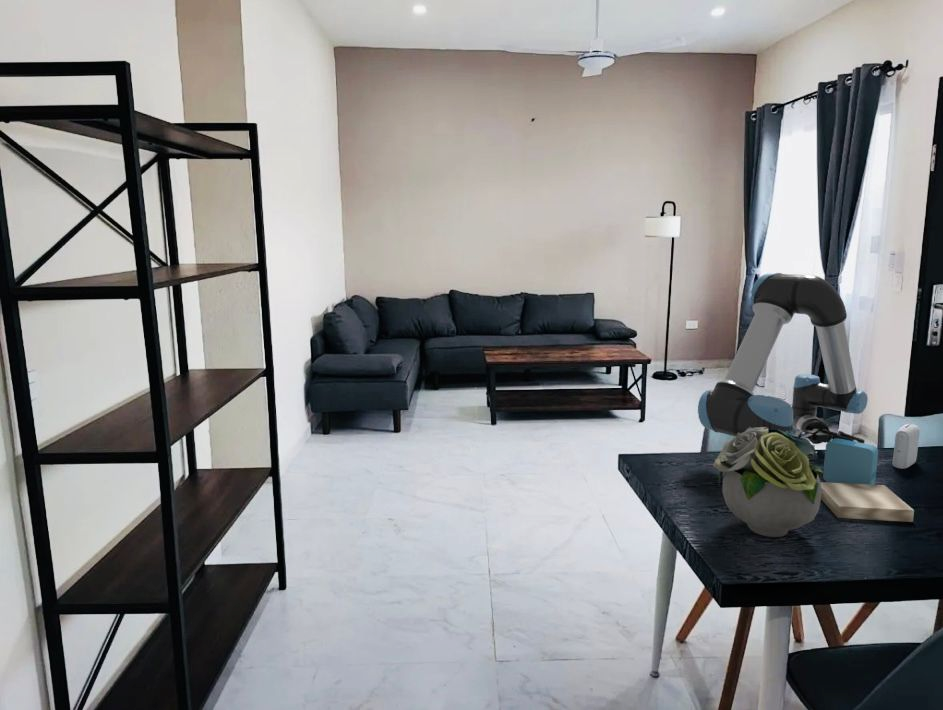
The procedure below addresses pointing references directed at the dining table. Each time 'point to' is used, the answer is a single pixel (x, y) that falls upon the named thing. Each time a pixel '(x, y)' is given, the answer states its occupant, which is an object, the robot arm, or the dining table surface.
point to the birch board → (865, 502)
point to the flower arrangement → (770, 480)
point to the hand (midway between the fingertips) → (837, 450)
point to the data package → (850, 462)
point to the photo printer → (906, 446)
